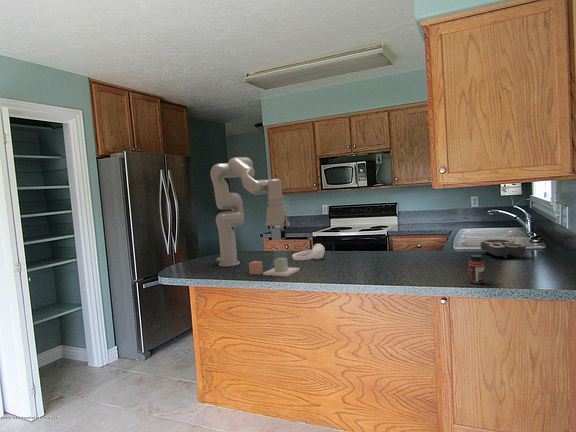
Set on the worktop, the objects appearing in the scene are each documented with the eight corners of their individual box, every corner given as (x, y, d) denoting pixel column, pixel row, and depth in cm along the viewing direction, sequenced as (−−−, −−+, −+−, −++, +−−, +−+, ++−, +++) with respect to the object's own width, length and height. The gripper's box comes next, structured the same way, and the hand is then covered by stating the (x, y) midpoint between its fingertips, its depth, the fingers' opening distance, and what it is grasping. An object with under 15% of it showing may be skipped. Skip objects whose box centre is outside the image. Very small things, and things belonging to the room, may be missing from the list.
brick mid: (272, 240, 208) (271, 228, 208) (276, 238, 213) (276, 227, 212) (280, 240, 206) (279, 228, 206) (285, 238, 210) (284, 227, 210)
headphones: (326, 254, 254) (295, 258, 257) (323, 241, 253) (292, 246, 256) (324, 260, 234) (291, 264, 237) (322, 246, 234) (288, 251, 237)
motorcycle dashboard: (476, 252, 228) (475, 239, 228) (506, 250, 226) (506, 238, 226) (495, 261, 202) (494, 247, 201) (529, 259, 200) (529, 245, 200)
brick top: (249, 274, 212) (248, 262, 211) (255, 272, 216) (254, 260, 216) (257, 274, 209) (256, 263, 209) (263, 272, 214) (262, 261, 213)
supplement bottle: (466, 281, 168) (465, 254, 167) (480, 280, 168) (479, 253, 168) (473, 285, 162) (472, 257, 161) (488, 284, 163) (487, 256, 162)
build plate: (262, 275, 207) (261, 261, 207) (276, 269, 219) (275, 255, 219) (286, 276, 200) (285, 262, 200) (299, 270, 212) (298, 256, 212)
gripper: (257, 204, 209) (260, 239, 210) (286, 202, 201) (289, 239, 202) (265, 203, 215) (268, 237, 217) (293, 201, 207) (296, 237, 208)
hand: (278, 237), depth 209 cm, fingers closed on brick mid, 5 cm apart
